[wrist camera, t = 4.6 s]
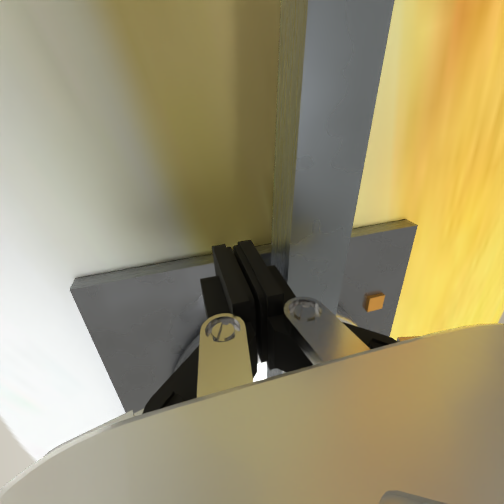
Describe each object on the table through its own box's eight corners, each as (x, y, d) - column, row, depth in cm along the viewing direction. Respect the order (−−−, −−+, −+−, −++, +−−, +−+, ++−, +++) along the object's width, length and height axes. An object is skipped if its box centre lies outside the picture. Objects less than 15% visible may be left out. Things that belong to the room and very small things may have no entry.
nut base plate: (75, 278, 15) (68, 293, 13) (406, 219, 19) (421, 227, 18) (158, 470, 24) (158, 488, 23) (363, 403, 28) (371, 416, 27)
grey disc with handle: (72, -74, 8) (-1, -212, 5) (450, -24, 12) (586, -82, 8) (183, 455, 22) (187, 527, 18) (342, 409, 25) (373, 462, 22)
